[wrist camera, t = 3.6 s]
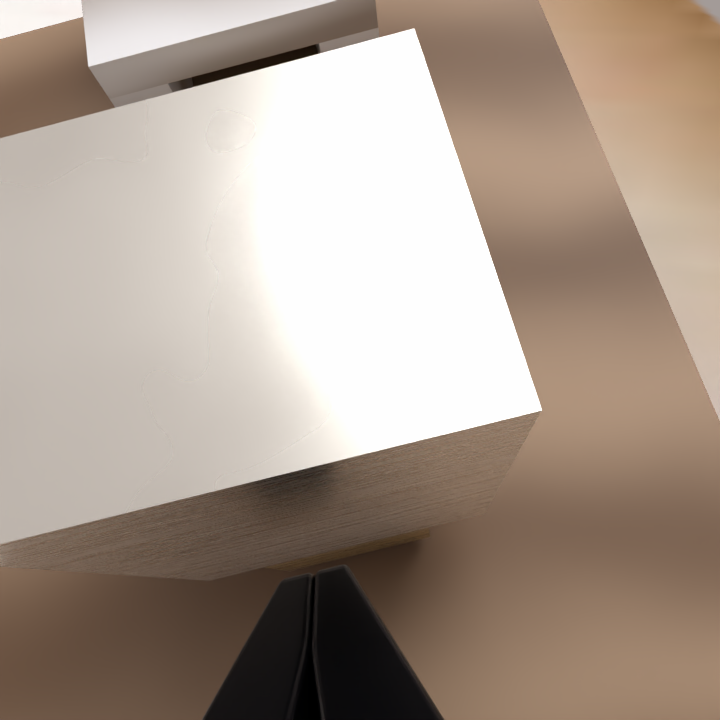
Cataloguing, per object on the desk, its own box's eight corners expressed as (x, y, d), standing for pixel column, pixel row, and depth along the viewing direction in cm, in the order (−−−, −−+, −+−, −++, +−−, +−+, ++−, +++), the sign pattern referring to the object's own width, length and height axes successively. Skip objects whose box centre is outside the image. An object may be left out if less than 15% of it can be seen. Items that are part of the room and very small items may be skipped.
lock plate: (810, 718, 13) (1015, 785, 9) (47, 894, 14) (-160, 1051, 9) (493, -49, 21) (509, -238, 16) (8, 81, 22) (-114, -67, 17)
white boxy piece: (478, 525, 14) (541, 410, 5) (241, 582, 14) (-72, 562, 5) (377, 166, 17) (314, -270, 8) (185, 216, 17) (-69, -162, 8)
